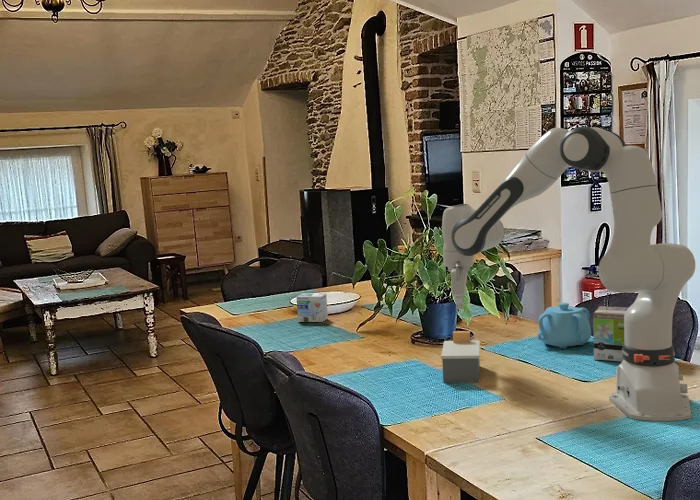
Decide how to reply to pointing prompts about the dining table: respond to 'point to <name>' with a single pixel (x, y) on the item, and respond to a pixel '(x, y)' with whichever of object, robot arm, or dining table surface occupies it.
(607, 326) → the tea box
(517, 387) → the dining table surface
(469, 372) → the tub
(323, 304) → the light bulb box
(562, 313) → the decorative pot
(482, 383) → the dining table surface
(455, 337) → the lid
